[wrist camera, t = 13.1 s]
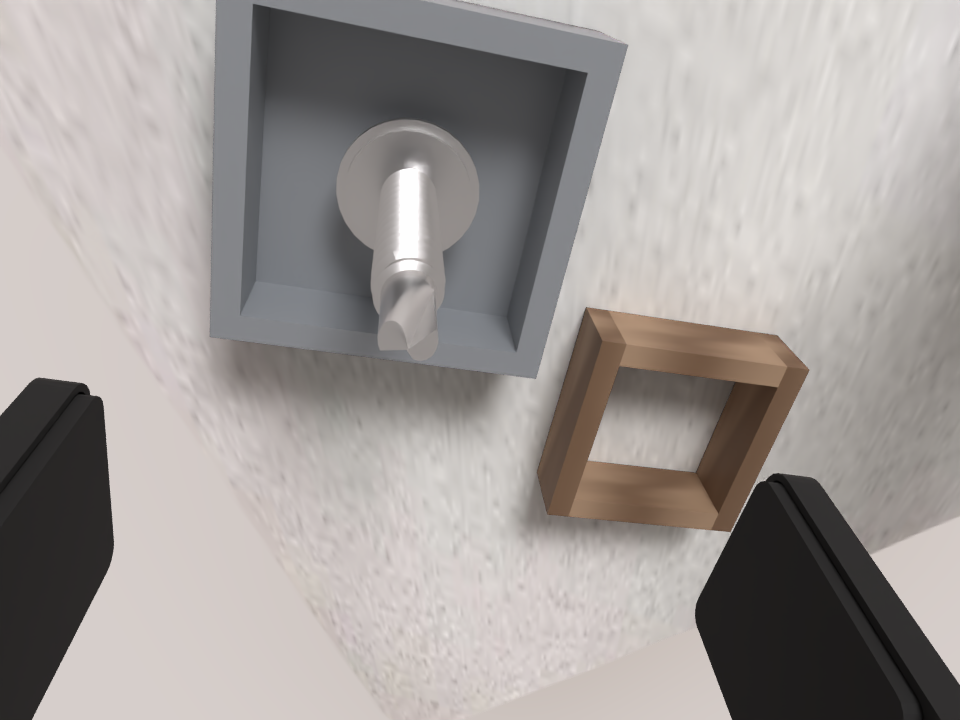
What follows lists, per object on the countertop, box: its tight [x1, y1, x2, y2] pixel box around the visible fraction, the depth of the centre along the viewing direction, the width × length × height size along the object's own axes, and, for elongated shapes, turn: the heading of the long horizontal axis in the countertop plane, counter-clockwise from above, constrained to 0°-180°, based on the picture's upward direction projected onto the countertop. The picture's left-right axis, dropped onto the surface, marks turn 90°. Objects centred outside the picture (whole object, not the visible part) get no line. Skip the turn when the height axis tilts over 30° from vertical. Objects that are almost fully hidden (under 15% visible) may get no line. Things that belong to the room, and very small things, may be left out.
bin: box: [210, 0, 628, 379], centre depth 25 cm, size 12×12×4 cm
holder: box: [537, 307, 809, 532], centre depth 32 cm, size 9×9×3 cm
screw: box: [336, 117, 479, 361], centre depth 21 cm, size 13×5×5 cm
